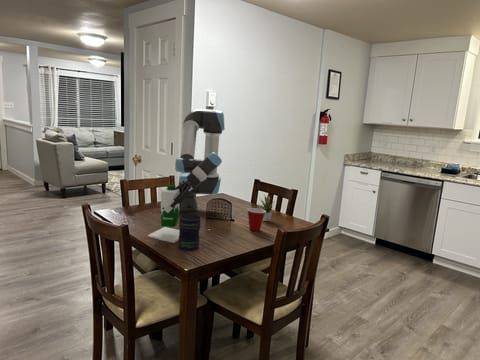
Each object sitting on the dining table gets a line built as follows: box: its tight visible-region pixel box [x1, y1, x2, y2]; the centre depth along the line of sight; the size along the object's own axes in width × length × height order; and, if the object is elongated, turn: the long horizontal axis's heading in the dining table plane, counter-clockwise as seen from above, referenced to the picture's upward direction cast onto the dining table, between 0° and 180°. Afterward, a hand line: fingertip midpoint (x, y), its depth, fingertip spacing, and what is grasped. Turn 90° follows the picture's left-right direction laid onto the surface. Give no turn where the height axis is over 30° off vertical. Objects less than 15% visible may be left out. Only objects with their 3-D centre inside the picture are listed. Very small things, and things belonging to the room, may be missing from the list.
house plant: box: [256, 194, 276, 221], centre depth 217 cm, size 14×14×16 cm
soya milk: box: [160, 184, 180, 228], centre depth 176 cm, size 9×9×20 cm
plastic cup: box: [246, 207, 266, 232], centre depth 197 cm, size 11×11×12 cm
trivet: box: [147, 226, 180, 244], centre depth 179 cm, size 15×15×1 cm
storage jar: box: [177, 213, 202, 252], centre depth 164 cm, size 10×10×15 cm
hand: (163, 208), depth 175 cm, fingers closed on soya milk, 8 cm apart
